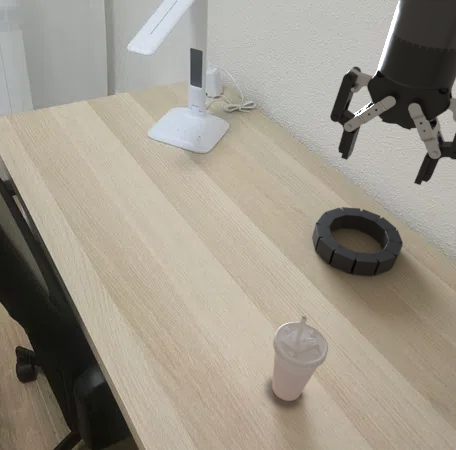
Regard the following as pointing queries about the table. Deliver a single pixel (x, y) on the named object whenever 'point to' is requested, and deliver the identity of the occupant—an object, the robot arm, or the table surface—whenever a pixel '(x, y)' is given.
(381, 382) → the table surface
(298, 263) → the table surface
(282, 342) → the smoothie
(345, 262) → the tire
